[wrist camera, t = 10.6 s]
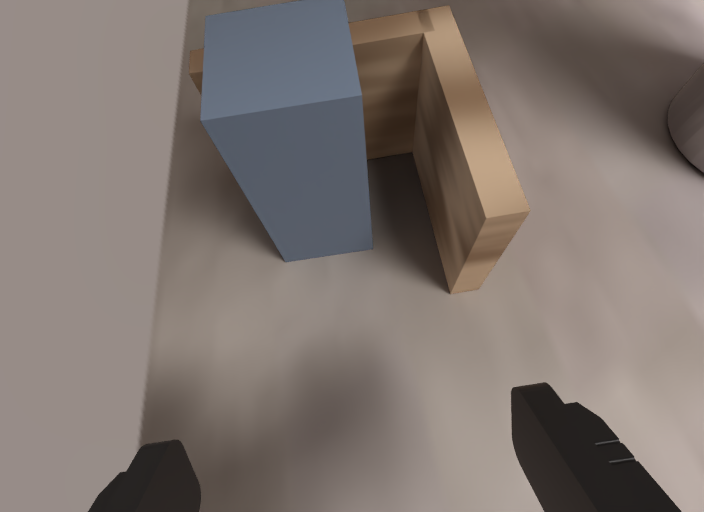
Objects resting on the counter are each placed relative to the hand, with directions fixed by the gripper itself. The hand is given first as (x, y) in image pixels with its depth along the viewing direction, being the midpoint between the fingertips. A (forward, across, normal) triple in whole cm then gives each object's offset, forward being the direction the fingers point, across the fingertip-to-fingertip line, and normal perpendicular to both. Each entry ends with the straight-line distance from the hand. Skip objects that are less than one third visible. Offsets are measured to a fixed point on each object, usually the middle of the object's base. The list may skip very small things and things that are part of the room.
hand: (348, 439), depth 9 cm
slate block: (+15, +1, -2) cm, 15 cm away
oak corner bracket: (+15, -1, -1) cm, 15 cm away
